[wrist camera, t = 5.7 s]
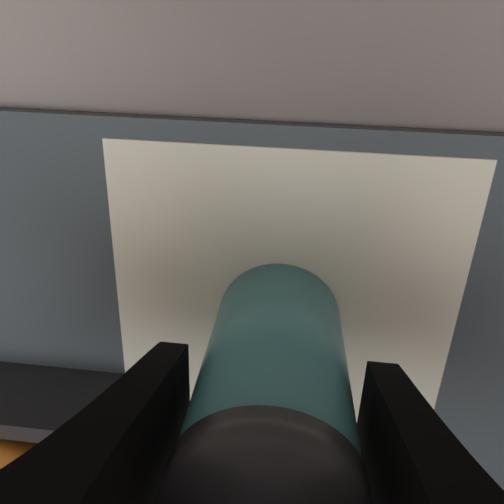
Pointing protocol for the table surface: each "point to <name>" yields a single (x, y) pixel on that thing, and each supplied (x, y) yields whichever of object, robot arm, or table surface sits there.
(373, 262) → the slate board
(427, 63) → the table surface
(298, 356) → the teal bottle
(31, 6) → the table surface
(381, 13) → the table surface
